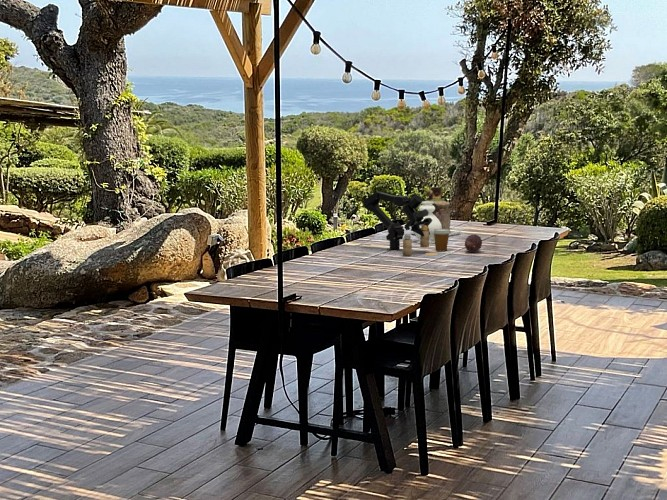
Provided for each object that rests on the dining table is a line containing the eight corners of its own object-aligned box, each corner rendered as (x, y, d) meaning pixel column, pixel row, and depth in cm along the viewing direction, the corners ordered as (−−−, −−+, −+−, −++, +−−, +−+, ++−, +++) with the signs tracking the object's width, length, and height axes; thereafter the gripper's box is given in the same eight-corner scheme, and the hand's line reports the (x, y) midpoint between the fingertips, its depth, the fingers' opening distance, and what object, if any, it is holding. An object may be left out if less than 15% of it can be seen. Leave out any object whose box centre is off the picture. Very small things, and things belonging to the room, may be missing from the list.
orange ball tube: (418, 246, 485) (419, 224, 483) (426, 245, 486) (427, 224, 484) (422, 247, 480) (422, 225, 478) (430, 247, 481) (430, 225, 480)
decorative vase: (441, 240, 536) (441, 200, 532) (441, 244, 519) (442, 203, 515) (412, 240, 538) (412, 200, 534) (412, 244, 521) (412, 203, 517)
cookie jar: (432, 231, 581) (433, 183, 576) (462, 234, 564) (463, 185, 559) (409, 234, 563) (409, 185, 558) (439, 238, 546) (440, 187, 541)
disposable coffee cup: (448, 251, 493) (449, 231, 491) (432, 251, 494) (432, 230, 493) (450, 249, 502) (450, 228, 500) (433, 248, 504) (433, 228, 502)
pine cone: (466, 249, 503) (466, 232, 501) (483, 249, 500) (484, 232, 499) (462, 253, 486) (462, 236, 484) (480, 254, 483) (480, 236, 482)
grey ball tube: (401, 255, 476) (401, 233, 474) (408, 254, 477) (409, 232, 476) (405, 256, 471) (405, 234, 469) (413, 256, 473) (413, 234, 471)
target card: (396, 256, 478) (396, 254, 478) (431, 253, 487) (431, 252, 487) (406, 259, 468) (406, 257, 468) (441, 256, 477) (441, 254, 477)
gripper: (408, 206, 476) (424, 227, 470) (429, 203, 489) (445, 224, 483) (397, 219, 482) (412, 240, 476) (418, 216, 495) (433, 237, 489)
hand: (426, 235), depth 481 cm, fingers closed on orange ball tube, 5 cm apart
